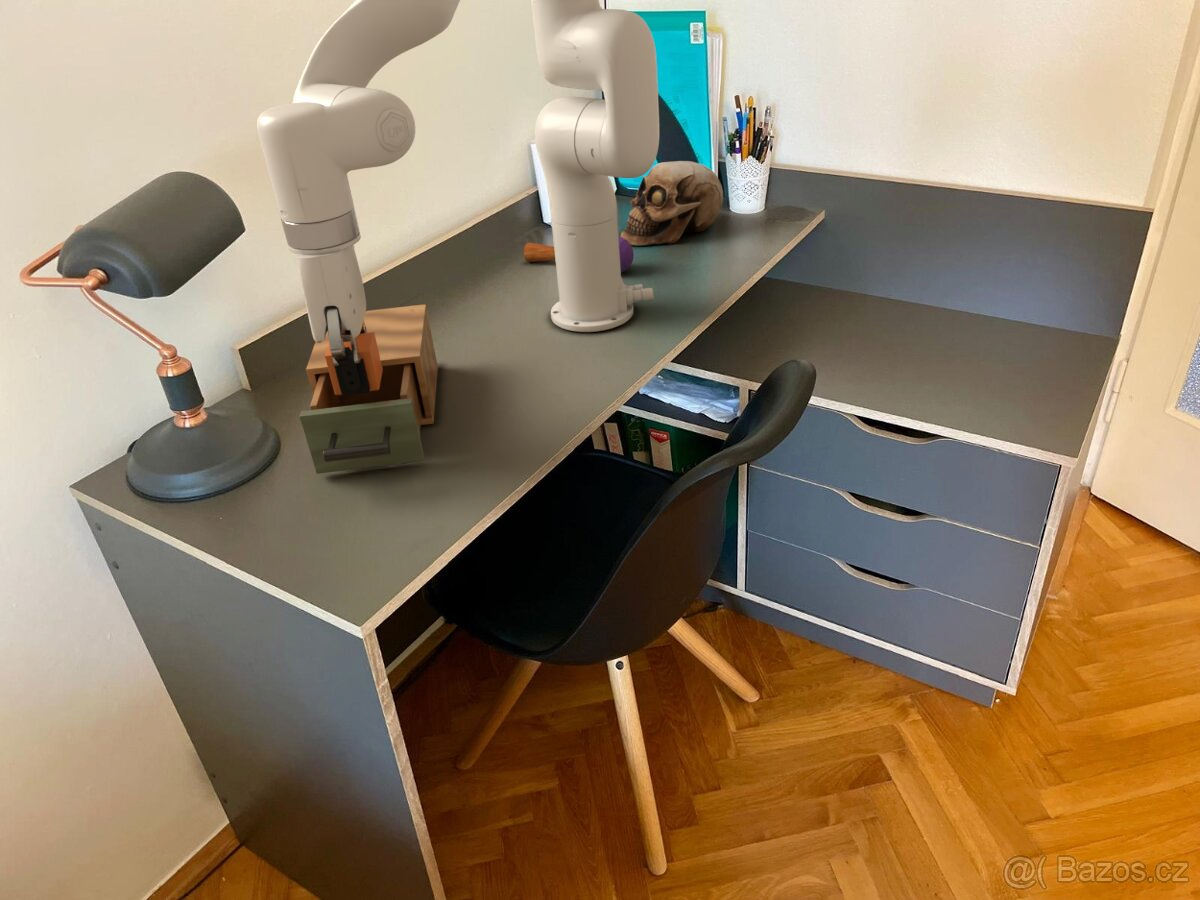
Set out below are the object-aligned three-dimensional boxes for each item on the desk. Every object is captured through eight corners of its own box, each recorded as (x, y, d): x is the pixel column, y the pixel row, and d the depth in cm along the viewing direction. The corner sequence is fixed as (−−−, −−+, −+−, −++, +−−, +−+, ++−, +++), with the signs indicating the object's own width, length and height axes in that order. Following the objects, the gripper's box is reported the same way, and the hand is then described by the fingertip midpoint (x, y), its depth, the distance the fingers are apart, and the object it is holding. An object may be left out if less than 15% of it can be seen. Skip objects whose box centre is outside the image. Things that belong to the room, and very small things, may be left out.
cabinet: (433, 423, 114) (419, 356, 108) (325, 436, 113) (305, 369, 107) (437, 366, 127) (425, 304, 121) (340, 378, 126) (324, 315, 121)
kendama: (536, 232, 158) (638, 234, 149) (539, 266, 161) (640, 270, 152) (518, 237, 154) (622, 240, 145) (521, 272, 156) (624, 277, 147)
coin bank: (612, 242, 162) (613, 166, 156) (654, 221, 175) (657, 150, 169) (692, 255, 155) (697, 176, 149) (729, 232, 169) (735, 159, 162)
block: (382, 370, 107) (374, 331, 104) (379, 390, 103) (370, 350, 100) (340, 374, 107) (330, 336, 104) (335, 395, 102) (324, 356, 100)
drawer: (421, 484, 101) (408, 425, 96) (310, 498, 100) (291, 439, 96) (429, 399, 117) (418, 346, 113) (333, 411, 116) (318, 357, 112)
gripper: (299, 207, 101) (336, 351, 111) (270, 262, 87) (315, 421, 97) (366, 200, 102) (397, 344, 112) (348, 253, 88) (385, 413, 98)
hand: (358, 379), depth 104 cm, fingers closed on block, 5 cm apart
